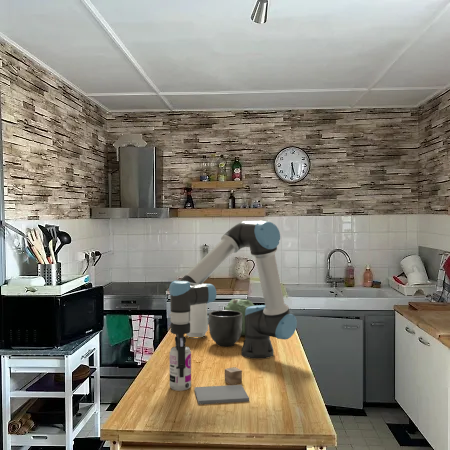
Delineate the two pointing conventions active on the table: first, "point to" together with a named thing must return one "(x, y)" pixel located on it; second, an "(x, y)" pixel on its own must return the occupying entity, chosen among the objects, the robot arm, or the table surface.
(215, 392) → the slate board
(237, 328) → the planter
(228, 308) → the cabbage
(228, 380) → the walnut block
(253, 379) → the table surface
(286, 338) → the robot arm
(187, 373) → the supplement can
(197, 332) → the vase
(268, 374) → the table surface
